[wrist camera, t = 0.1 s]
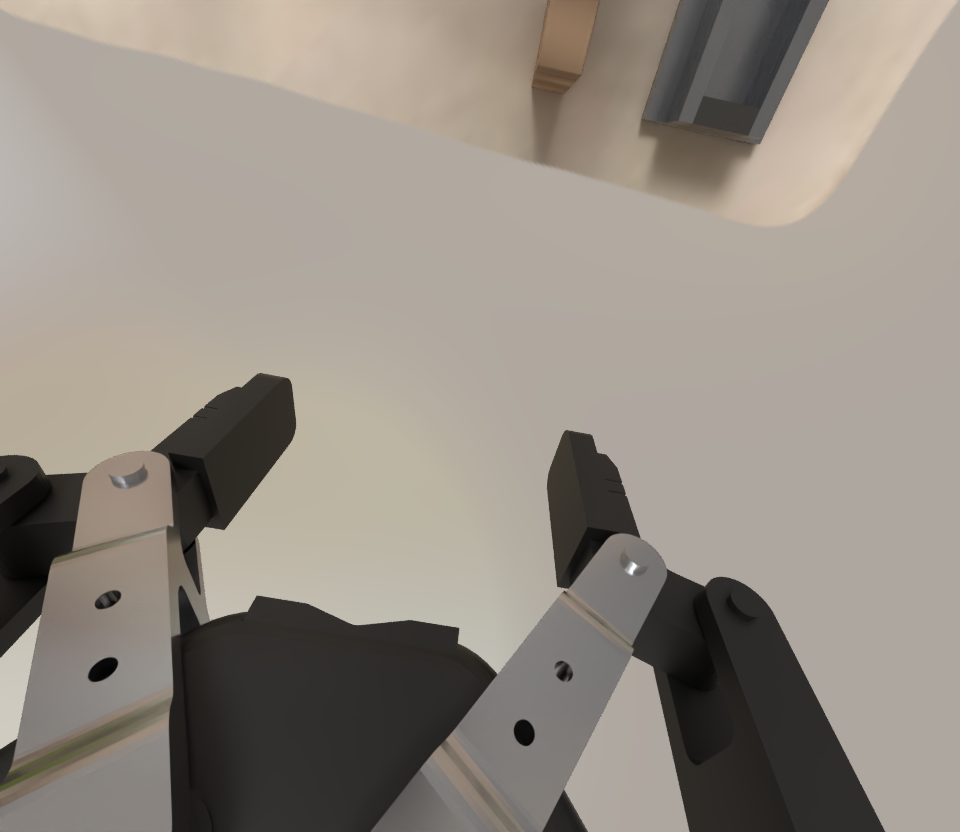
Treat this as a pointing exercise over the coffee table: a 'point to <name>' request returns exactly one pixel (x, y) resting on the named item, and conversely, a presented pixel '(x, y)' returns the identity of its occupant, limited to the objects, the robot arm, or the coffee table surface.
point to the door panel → (564, 43)
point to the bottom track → (730, 64)
